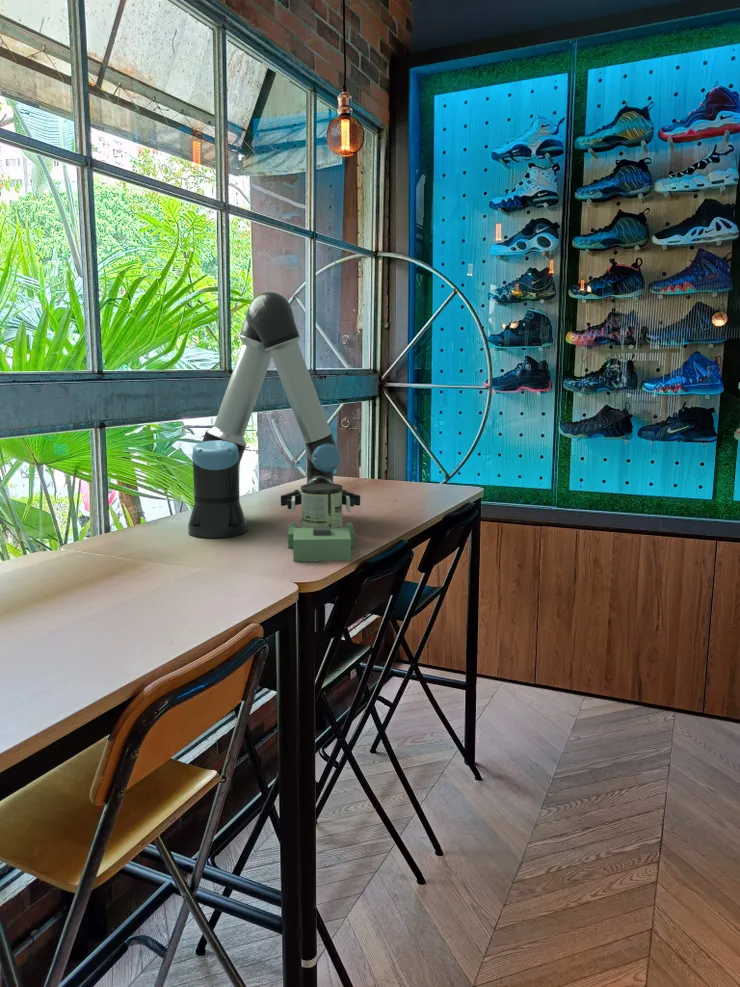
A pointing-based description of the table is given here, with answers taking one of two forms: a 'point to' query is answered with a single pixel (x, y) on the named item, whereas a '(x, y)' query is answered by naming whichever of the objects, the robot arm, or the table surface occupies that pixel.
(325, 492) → the coffee can
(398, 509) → the table surface
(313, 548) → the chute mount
